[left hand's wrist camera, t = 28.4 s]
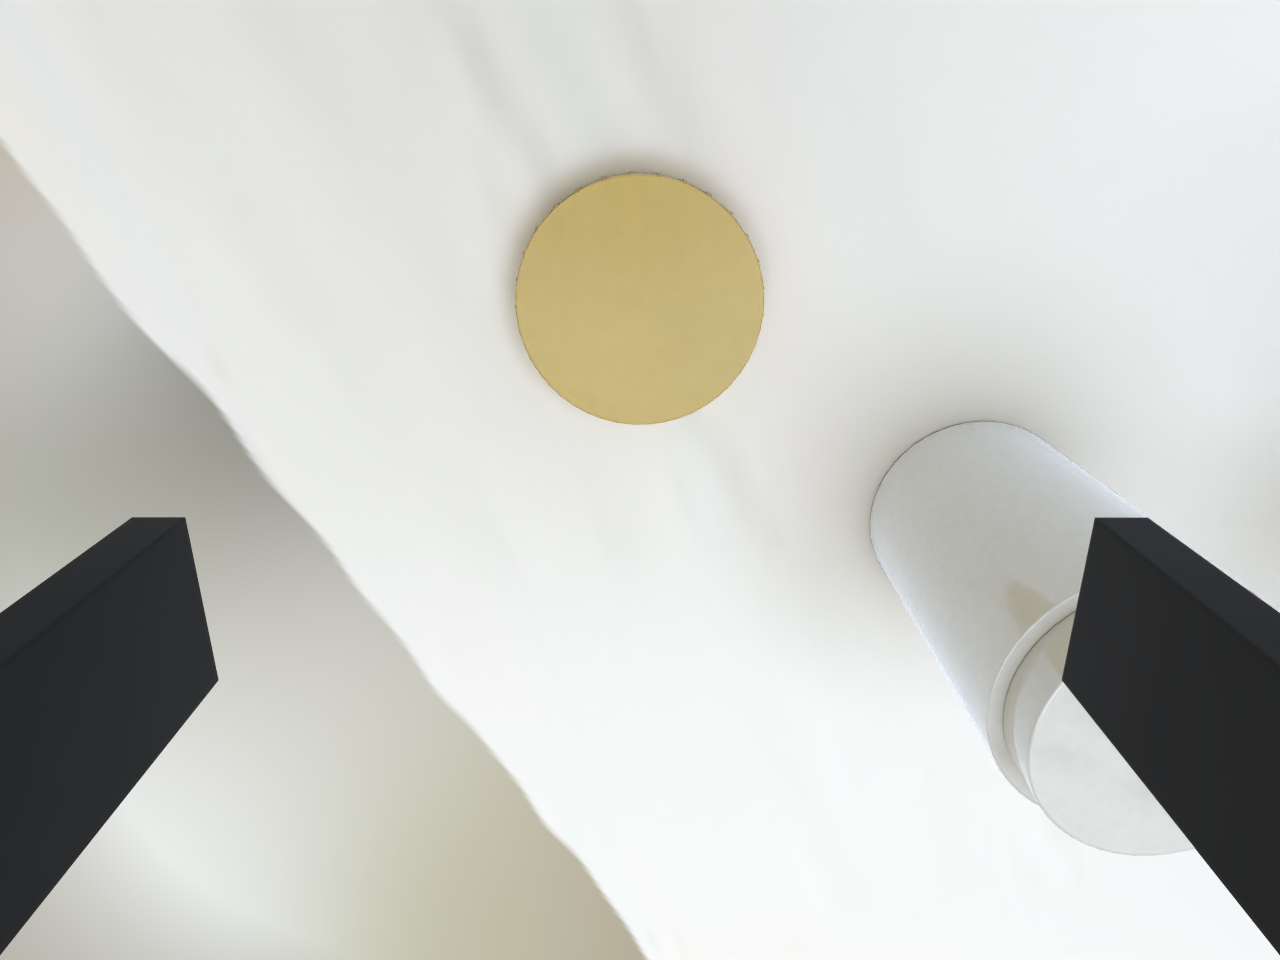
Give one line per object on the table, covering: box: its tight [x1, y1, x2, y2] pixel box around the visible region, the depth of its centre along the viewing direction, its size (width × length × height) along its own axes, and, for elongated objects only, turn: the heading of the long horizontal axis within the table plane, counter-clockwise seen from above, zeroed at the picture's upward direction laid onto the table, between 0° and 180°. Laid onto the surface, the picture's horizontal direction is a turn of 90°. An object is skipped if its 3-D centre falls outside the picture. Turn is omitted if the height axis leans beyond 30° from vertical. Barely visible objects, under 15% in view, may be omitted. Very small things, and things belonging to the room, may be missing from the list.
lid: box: [515, 171, 764, 424], centre depth 38 cm, size 11×11×2 cm
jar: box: [870, 421, 1263, 855], centre depth 35 cm, size 10×10×18 cm
